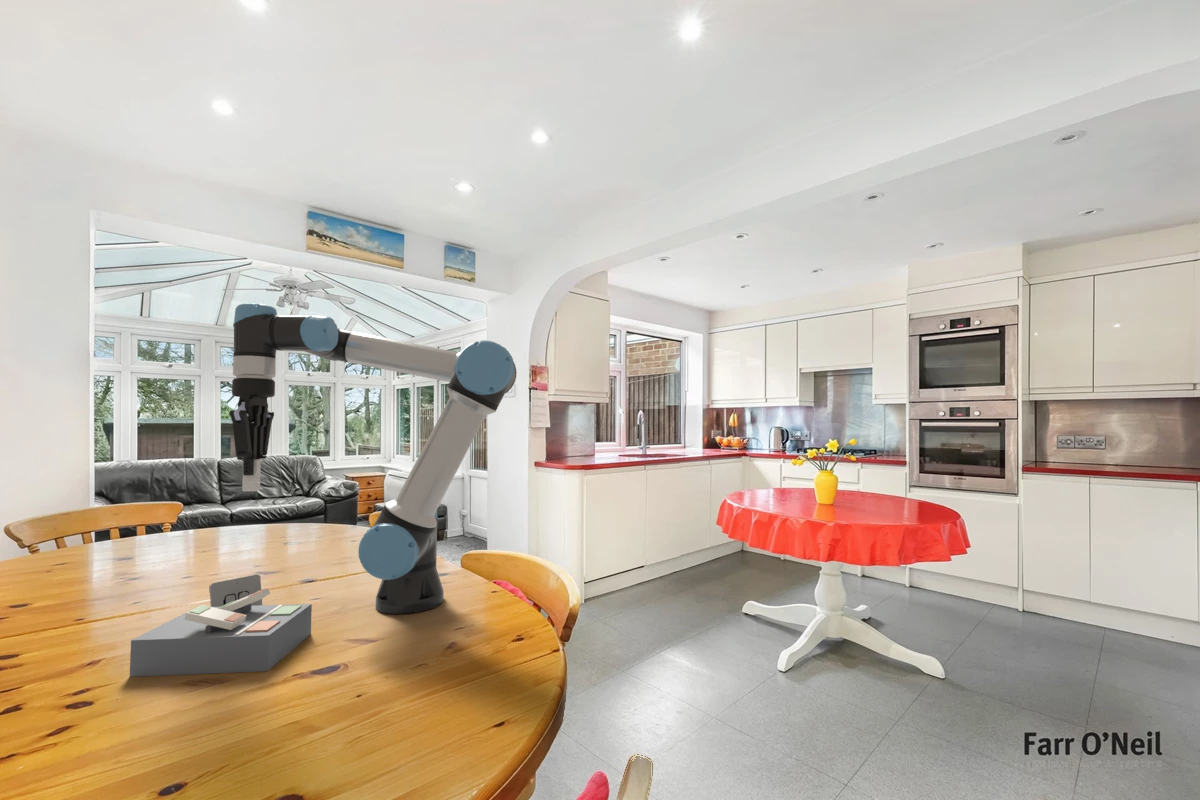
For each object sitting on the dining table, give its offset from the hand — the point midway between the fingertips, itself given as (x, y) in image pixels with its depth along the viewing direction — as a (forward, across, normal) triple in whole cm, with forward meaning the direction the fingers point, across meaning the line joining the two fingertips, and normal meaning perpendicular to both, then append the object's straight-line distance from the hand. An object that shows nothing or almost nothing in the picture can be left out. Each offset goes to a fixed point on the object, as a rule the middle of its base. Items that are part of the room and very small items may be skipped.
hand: (251, 490), depth 109 cm
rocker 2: (+21, +7, +3) cm, 22 cm away
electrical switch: (+29, -6, -6) cm, 30 cm away
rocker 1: (+21, +15, +2) cm, 26 cm away
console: (+29, +11, +3) cm, 31 cm away
